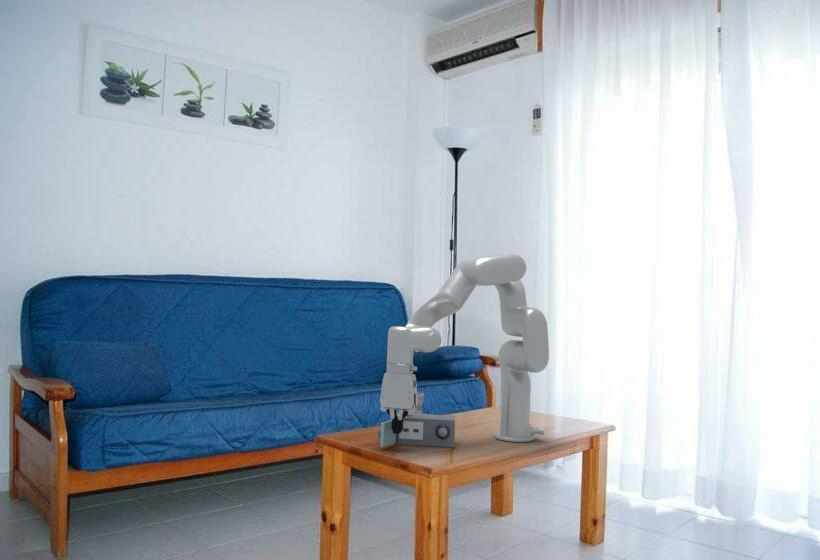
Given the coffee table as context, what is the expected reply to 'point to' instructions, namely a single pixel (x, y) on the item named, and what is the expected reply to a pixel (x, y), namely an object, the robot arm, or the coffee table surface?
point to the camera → (419, 403)
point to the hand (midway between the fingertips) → (397, 432)
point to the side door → (386, 434)
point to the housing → (427, 430)
